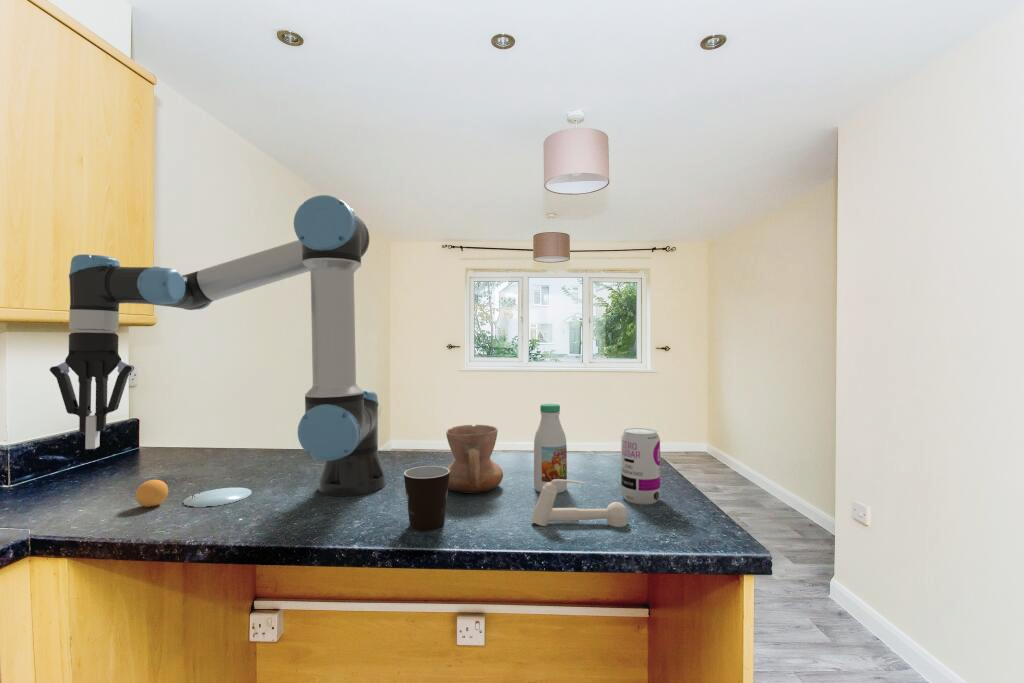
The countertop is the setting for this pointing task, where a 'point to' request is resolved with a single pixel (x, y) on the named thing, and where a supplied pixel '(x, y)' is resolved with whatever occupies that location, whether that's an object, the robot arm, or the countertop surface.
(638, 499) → the supplement can
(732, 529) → the countertop surface
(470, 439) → the ceramic jug
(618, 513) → the faucet
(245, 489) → the disc
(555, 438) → the milk bottle
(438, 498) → the brown cup
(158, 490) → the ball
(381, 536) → the countertop surface
